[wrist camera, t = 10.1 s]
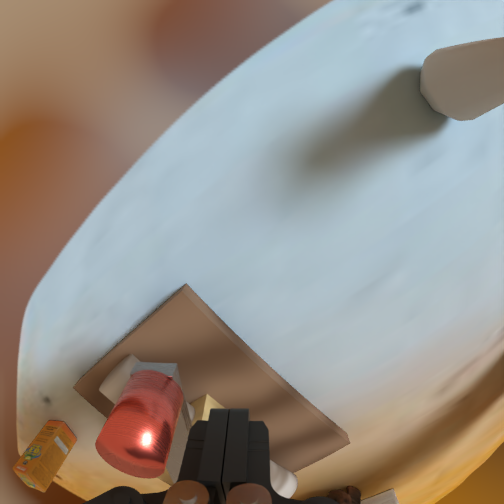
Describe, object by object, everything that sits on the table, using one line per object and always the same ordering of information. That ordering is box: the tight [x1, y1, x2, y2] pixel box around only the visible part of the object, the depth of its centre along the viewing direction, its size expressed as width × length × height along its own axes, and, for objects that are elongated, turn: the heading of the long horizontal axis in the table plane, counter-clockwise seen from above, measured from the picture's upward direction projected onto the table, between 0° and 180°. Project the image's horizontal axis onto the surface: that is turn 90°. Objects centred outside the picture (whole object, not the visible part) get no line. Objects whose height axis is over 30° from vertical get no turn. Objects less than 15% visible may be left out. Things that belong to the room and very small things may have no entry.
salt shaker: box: [420, 37, 504, 121], centre depth 11 cm, size 6×6×13 cm
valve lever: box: [95, 362, 192, 484], centre depth 12 cm, size 15×3×5 cm, turn 3°
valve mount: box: [73, 284, 350, 498], centre depth 20 cm, size 22×16×9 cm
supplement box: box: [13, 420, 77, 492], centre depth 21 cm, size 3×4×10 cm
